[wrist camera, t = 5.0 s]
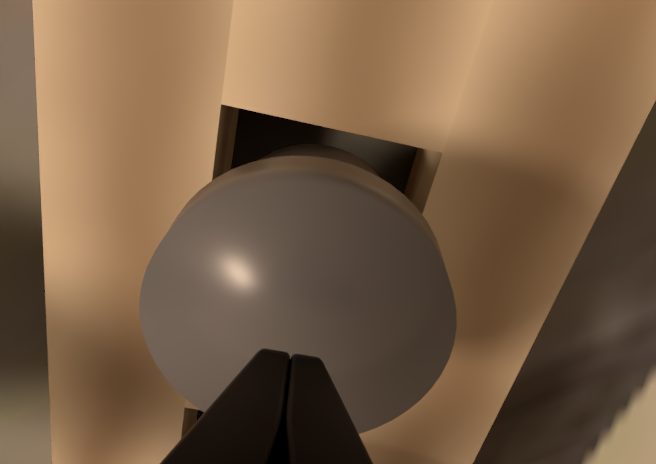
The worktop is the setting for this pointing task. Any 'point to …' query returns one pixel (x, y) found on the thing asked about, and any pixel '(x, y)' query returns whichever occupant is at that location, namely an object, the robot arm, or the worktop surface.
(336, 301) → the knob middle
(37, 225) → the worktop surface
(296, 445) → the robot arm
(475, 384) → the mount board
